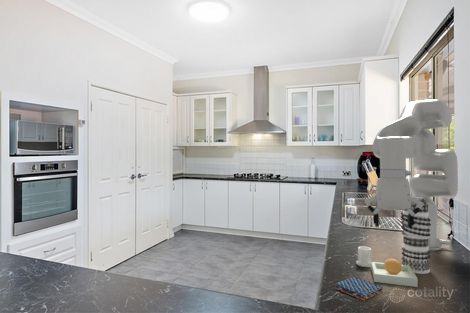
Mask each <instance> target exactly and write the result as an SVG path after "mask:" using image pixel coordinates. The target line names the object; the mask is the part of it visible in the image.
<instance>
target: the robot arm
mask: <svg viewBox="0 0 470 313" xmlns="http://www.w3.org/2000/svg"><path fill="white" fill-rule="evenodd" d="M452 121H453V115H452V111H451V109H450V108H449V106H448V105H447V103H446V102H445V101H443V100H442V99H438V98H437V99H435V98H434V99H424V100H415V101H410V102H408V103H407V104H406V105H405V106H404V107H403V108H402V111H401V113H400V115H399V117H398V119H397V120H395V121H393V122H391V123H389V124H388V125H386V126H384V127H382V128H381V129H380V130H379V131H378V132H377V134H376V136H375V137H374V140H373V142H372V148H371V149H372V153H373V155H374V156H375V157H376V158H378V159H379V169H380V170H379V171H380V173H379V178H377V179H376V180H377V181H376V188H375V195H373V196H371V197H369V198H366V199H364V203H365V205H366V207H367V208H368V210H369V212H370V211H371V213H372V214H373V224H375V226H376V227H377V228H378V227H379V226H380V224H379V223H380V222H379V221H380V220H379V219H380V218H379V217H380V216H379V212H380V211H381V210H391V211H392V210H395V211H403V210H407V211H408V212H409V214H408V227H409V228H410V229H412V226H414V216H415V214H417V213H418V212H419V211H420V209H421V208H422V206H423V204H424V203H423V202H421V201H419V200H417V199H415V198H413V197H419V198H424V199H426V201H427V202H428V203H429V204H428V212H429V216H428V218H429V219H431V221H429V222H428V223H430V224H431V225H430V226H428V229H430V232H428V233H429V234H430V238H428V245H429V251H430V252H433V251H434V252H435V251H441V250H442V248H443V245H446V246H451V245H452V242H451V240H450V239H449V240H448V239H447V240H446V239H442V238H440V237H438V206H437V204H436V203H435V201H434V200H433V199H432V198H442V199H443V198H447V199H451V198H455V197H456V196H457V195H458V191H459V190H458V189H459V188H458V186H459V185H458V184H459V180H458V179H459V176H458V175H459V174H458V171H459V170H458V166H459V165H458V157H457V154H456V152H455V151H454V150H453V149H450V148H448V149H447V148H442V149H441V148H440V149H439V148H437V145H436V144H437V139H436V135H435V134H433V132H432V131H431V130H436V129H446V128H448V127H450V126H451V124H452ZM408 159H412V161H413V162H412V163H413V167H414V169H415V170H416V171H420V172H437V173H440V172H441V173H443V174H433V173H432V174H431V173H430V174H427V173H423V174H422V173H418V174H415V175H413V176H412V177H411V178H410V179H408V178H407V177H408V176H411V175H412V171H410V170H407V162H406V161H407V160H408ZM374 201H375V205H376V206H375V207H373V206H372V205H371V203H372V202H374ZM411 201H412V202H414V203H416V204H417V206H416V207H415V208H414V209H413V210H411V209H410V208H411Z"/></svg>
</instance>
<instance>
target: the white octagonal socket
mask: <svg viewBox="0 0 470 313" xmlns="http://www.w3.org/2000/svg"><path fill="white" fill-rule="evenodd" d="M355 262H356V266H358V267H363V268H371V262H372V248H371V247H368V246H360V245H359V246H358V247H357V260H356V261H355Z"/></svg>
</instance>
